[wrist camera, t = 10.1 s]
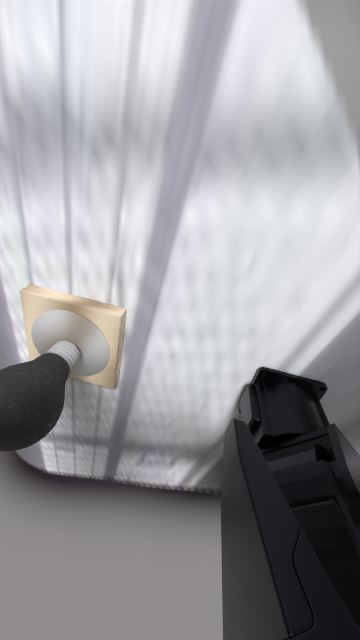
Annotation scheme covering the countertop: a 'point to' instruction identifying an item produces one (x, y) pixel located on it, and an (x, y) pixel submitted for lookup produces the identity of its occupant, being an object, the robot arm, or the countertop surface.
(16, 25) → the countertop surface
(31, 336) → the plinth
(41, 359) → the light bulb
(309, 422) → the robot arm
